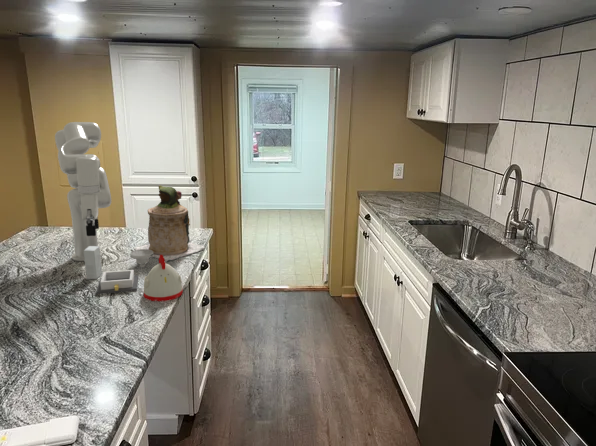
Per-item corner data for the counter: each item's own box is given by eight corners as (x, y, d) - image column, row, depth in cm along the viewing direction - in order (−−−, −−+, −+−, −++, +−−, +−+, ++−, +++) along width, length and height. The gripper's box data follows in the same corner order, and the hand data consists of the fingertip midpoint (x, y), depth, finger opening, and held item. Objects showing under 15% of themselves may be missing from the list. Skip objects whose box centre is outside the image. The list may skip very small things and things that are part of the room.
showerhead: (136, 246, 194) (157, 248, 192) (137, 261, 195) (158, 263, 194) (124, 252, 185) (145, 254, 183) (125, 268, 186) (146, 271, 185)
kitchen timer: (147, 304, 154) (144, 263, 151) (141, 289, 166) (138, 252, 162) (186, 297, 161) (185, 258, 157) (178, 284, 172) (176, 247, 169)
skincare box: (91, 273, 180) (88, 245, 177) (102, 273, 180) (99, 245, 178) (85, 279, 174) (83, 250, 171) (97, 279, 175) (94, 250, 172)
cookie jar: (167, 263, 195) (164, 192, 187) (131, 252, 208) (126, 185, 200) (206, 249, 216) (205, 185, 208) (171, 240, 228) (168, 179, 220)
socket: (100, 279, 174) (100, 270, 173) (138, 277, 178) (137, 267, 177) (96, 294, 160) (95, 284, 159) (136, 291, 164) (136, 281, 163)
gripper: (81, 185, 175) (85, 226, 180) (74, 193, 159) (79, 239, 164) (102, 185, 177) (105, 226, 182) (97, 193, 162) (100, 237, 166)
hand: (93, 232), depth 173 cm, fingers open, 9 cm apart
